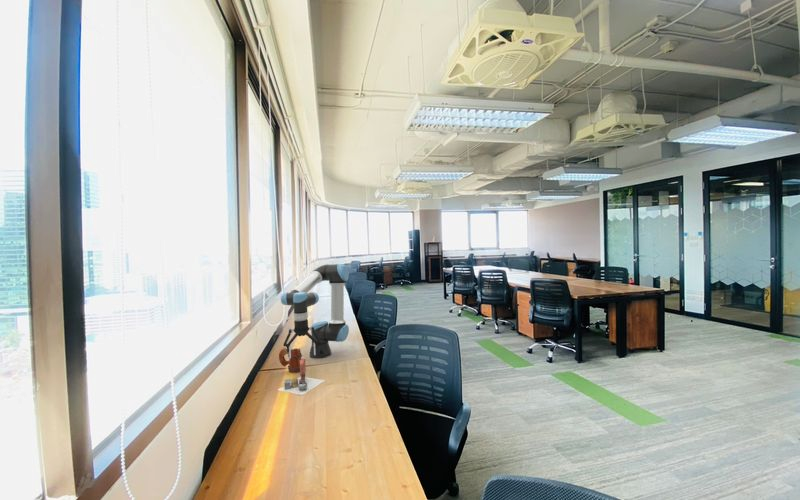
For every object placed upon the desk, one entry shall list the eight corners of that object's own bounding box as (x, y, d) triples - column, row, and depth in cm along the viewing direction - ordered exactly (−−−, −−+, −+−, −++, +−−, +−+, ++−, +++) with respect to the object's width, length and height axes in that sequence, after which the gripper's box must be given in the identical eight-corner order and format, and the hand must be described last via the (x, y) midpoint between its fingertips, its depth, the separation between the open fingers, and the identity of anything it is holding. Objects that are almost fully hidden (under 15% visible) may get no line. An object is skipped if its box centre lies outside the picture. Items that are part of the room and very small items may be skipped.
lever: (307, 389, 171) (306, 369, 171) (298, 390, 170) (297, 370, 170) (307, 376, 188) (306, 358, 188) (299, 377, 187) (298, 359, 187)
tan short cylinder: (294, 384, 180) (294, 378, 180) (299, 385, 178) (299, 379, 178) (289, 387, 176) (289, 380, 176) (295, 388, 175) (294, 381, 175)
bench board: (301, 378, 191) (301, 375, 191) (325, 382, 184) (325, 379, 184) (277, 392, 173) (277, 388, 173) (302, 397, 167) (302, 393, 167)
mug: (305, 370, 203) (304, 346, 203) (300, 375, 195) (299, 350, 195) (283, 369, 205) (282, 346, 205) (276, 375, 197) (276, 350, 197)
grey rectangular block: (285, 385, 178) (284, 379, 178) (290, 385, 179) (290, 378, 179) (284, 389, 173) (284, 383, 173) (290, 388, 174) (290, 382, 174)
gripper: (277, 323, 178) (279, 361, 179) (323, 318, 186) (325, 355, 186) (278, 320, 186) (280, 356, 186) (322, 315, 193) (324, 351, 194)
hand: (302, 356), depth 186 cm, fingers open, 13 cm apart
